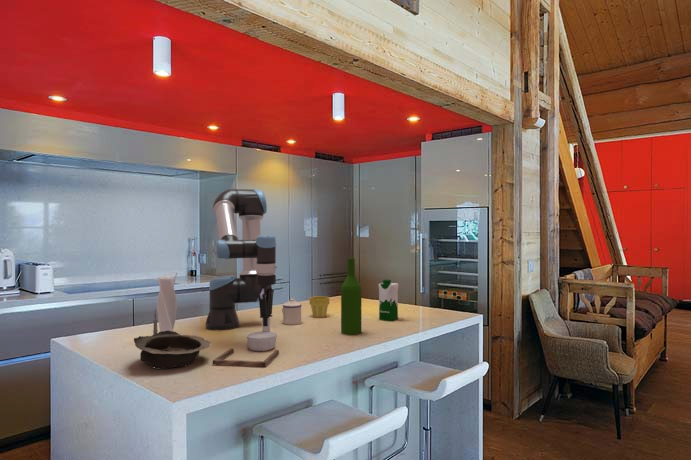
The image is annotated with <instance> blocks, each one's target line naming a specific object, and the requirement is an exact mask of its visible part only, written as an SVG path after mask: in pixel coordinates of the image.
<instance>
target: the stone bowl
mask: <svg viewBox="0 0 691 460" xmlns="http://www.w3.org/2000/svg"><path fill="white" fill-rule="evenodd" d="M173 331H174V330H173ZM173 331H161V332H160V331H158V332H157V333H156V334H154V335H153V334H152V335H145V336H142V335H140V336H138V337H133V343H134V344H135V347H136V348H137V349H139V350H140V355H139V356H140V357H139V358H140V361H141V362H144V363H147V364H149V366H150V367H151V368H152V367H155V368H162V369H165V368H169V369H172V368H174V367H186V366H185V365H187V366H188V365H190V364H192V363H194V362H195V361H196V359H197V358H198V356H199V353H200V351H203V350H206V349H208V348H210V347H211V341H209V340H208V339H205V338H204V337H201V336H199V335H190V334H189V335H188V334H181V333H178V332H176V331H174V332H173ZM171 367H172V368H171ZM155 368H154V369H155Z"/></svg>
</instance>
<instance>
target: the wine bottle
mask: <svg viewBox="0 0 691 460" xmlns="http://www.w3.org/2000/svg"><path fill="white" fill-rule="evenodd" d="M355 260H356V258H353V257H350V258H349V257H348V258H347V277H346V278H345V280H344V281H343V283H342V284H341V287H340V295H341V296H340V331H341V332H340V333H341V334H343V335H346V336H355V335H356V336H358V335H360V334H362V286H361V284H360V281H359V279H357V277H356V269H355V267H356V264H355V262H356V261H355Z"/></svg>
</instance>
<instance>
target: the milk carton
mask: <svg viewBox="0 0 691 460" xmlns="http://www.w3.org/2000/svg"><path fill="white" fill-rule="evenodd" d="M391 280H392V279H383V280H382V283H378V291H379V292H378V296H379V297H378V302H379V303H378V307H379V308H378V311H379V312H378V316H379V317H378V320H379V321H387V322H393V321H396V320H398V319H399V311H398V309H399V308H398V307H399V303H398V302H399V298H398V297H399V294H398V293H399V292H398V291H399V283H395V282H392V281H391Z"/></svg>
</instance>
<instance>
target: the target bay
mask: <svg viewBox="0 0 691 460" xmlns="http://www.w3.org/2000/svg"><path fill="white" fill-rule="evenodd" d="M234 350H235V348H232V347H231V348H229V349H228V350H226V351H224V352H223V353H221V354H220V355H219V356H217V357H215V358H214V359H213V360H212V365H213V364H216V365H215V366H226V365H236V366H235V367H249V366H256V367H255V368H266V367H268V366H269V365H270V364H271V363H272V362H273V361H274V360H275V359H276V358H277V357H278V356H279V355H280V350H279V349H275V350H274V351H273V352H272V353H270V355H269V356H268V357H267V358H265V359H264V360H263V361H262V360H261V361H260V360H239V359H238V360H237V359H235V360H234V359H227V358H228V357H230V356H231V355H232V354H234V352H235V351H234ZM229 355H230V356H229ZM226 357H227V358H226Z"/></svg>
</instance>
